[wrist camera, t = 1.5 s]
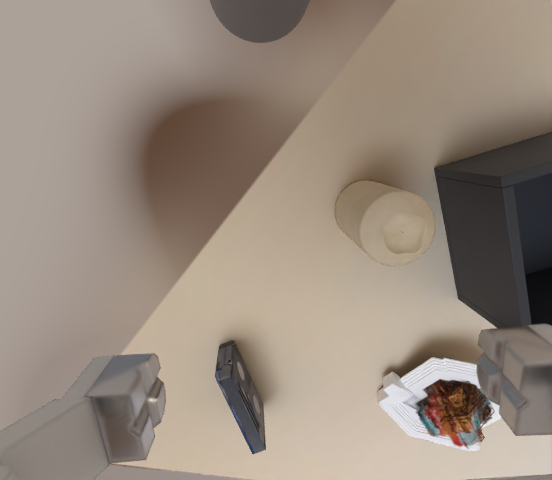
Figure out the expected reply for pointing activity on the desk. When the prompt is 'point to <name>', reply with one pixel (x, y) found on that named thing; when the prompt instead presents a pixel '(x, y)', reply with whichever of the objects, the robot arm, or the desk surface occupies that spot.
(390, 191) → the candle
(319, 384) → the desk surface
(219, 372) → the mini dv tape
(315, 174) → the desk surface
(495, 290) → the dark open square box
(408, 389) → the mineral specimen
